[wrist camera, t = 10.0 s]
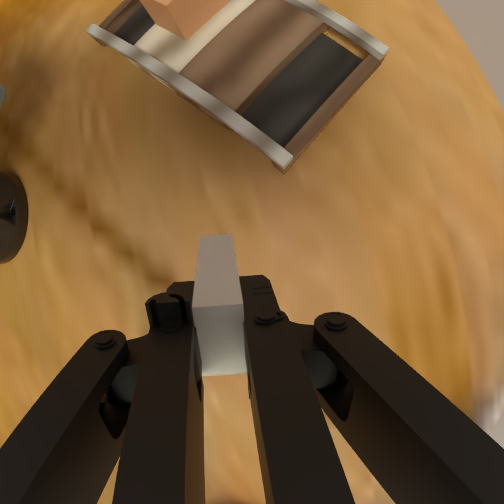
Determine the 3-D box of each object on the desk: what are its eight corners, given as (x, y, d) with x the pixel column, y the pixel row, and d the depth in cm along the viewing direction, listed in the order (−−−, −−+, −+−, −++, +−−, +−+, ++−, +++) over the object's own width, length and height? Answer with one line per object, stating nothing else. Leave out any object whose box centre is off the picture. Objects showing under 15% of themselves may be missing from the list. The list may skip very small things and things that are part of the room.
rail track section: (99, 43, 38) (85, 30, 33) (187, -38, 36) (180, -55, 31) (284, 174, 37) (283, 166, 32) (380, 64, 34) (389, 48, 30)
